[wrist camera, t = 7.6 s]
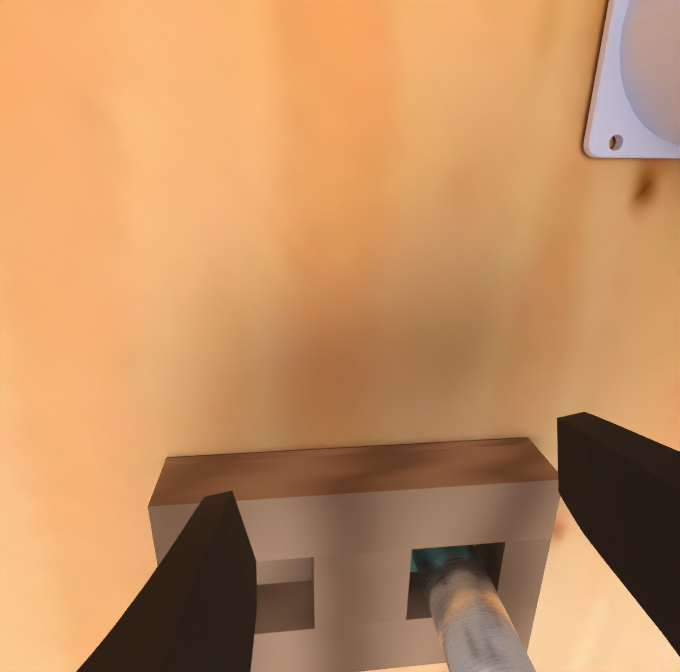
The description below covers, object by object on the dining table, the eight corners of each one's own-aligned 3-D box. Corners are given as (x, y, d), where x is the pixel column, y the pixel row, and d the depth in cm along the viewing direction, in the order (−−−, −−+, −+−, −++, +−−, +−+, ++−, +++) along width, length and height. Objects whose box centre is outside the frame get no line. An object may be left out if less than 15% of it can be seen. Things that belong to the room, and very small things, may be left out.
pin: (449, 506, 22) (520, 654, 15) (477, 543, 23) (554, 697, 16) (398, 537, 22) (446, 696, 16) (427, 572, 23) (484, 735, 17)
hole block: (527, 437, 22) (563, 479, 19) (499, 598, 25) (526, 654, 23) (166, 457, 20) (147, 506, 17) (191, 627, 24) (178, 690, 21)
